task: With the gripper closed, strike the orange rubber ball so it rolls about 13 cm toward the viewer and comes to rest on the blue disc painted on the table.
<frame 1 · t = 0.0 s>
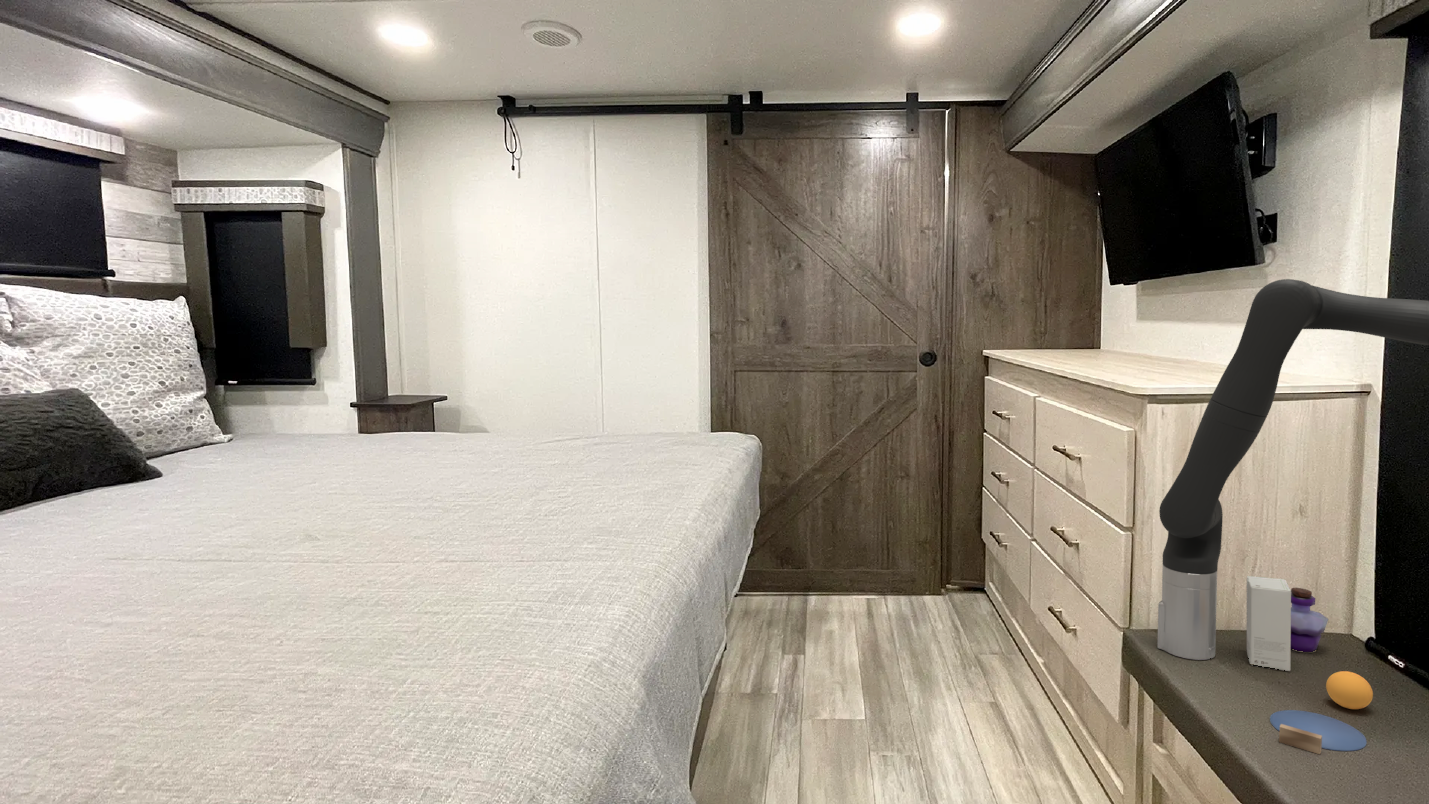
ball: (1349, 690, 125), on the cabinet
potion bottle: (1299, 648, 148), on the cabinet
skincare box: (1266, 661, 143), on the cabinet
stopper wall: (1299, 746, 114), on the cabinet
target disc: (1316, 730, 118), on the cabinet
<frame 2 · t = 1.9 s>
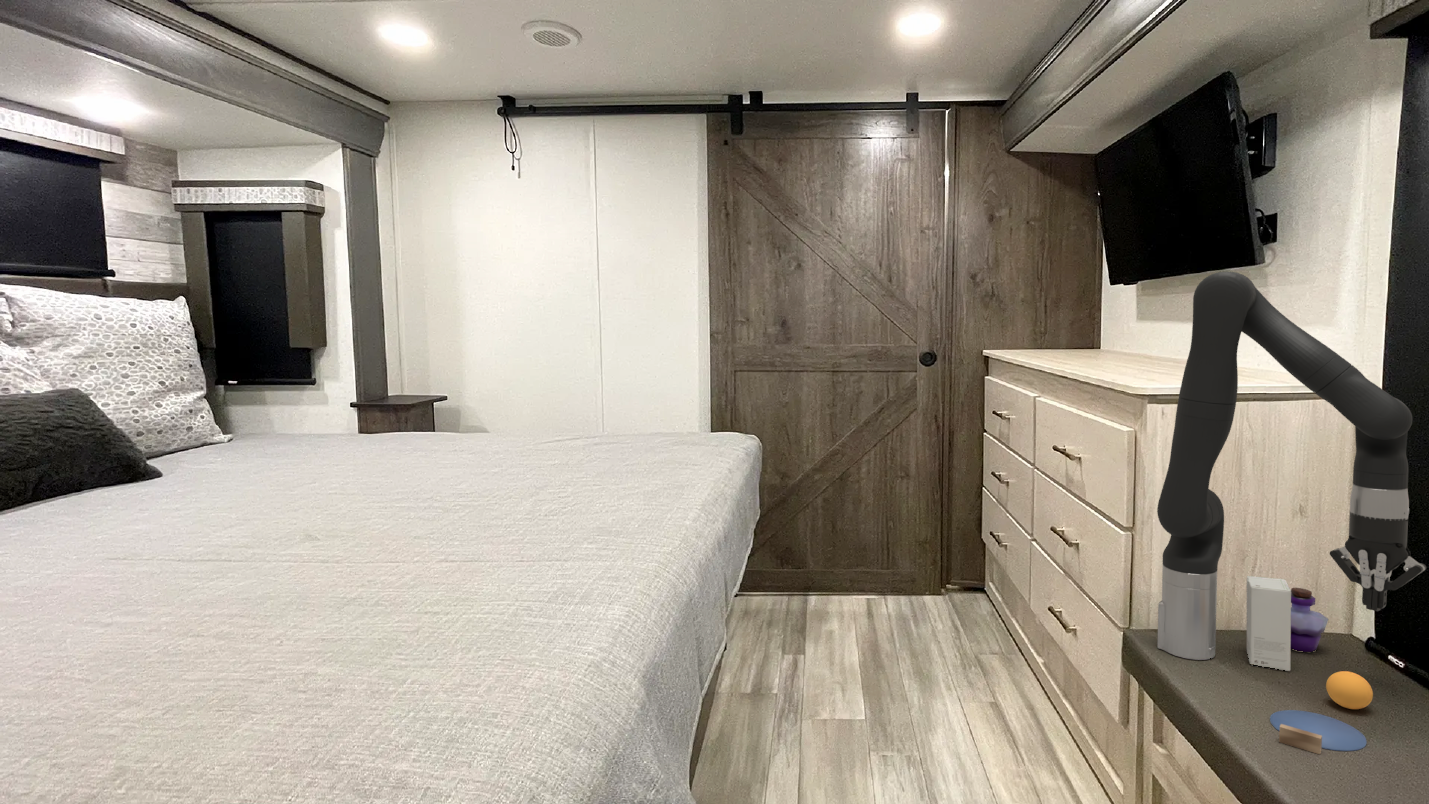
hand: (1374, 609, 128), 15 cm above the cabinet, tool pointing down, fingers closed
nothing on the cabinet moved.
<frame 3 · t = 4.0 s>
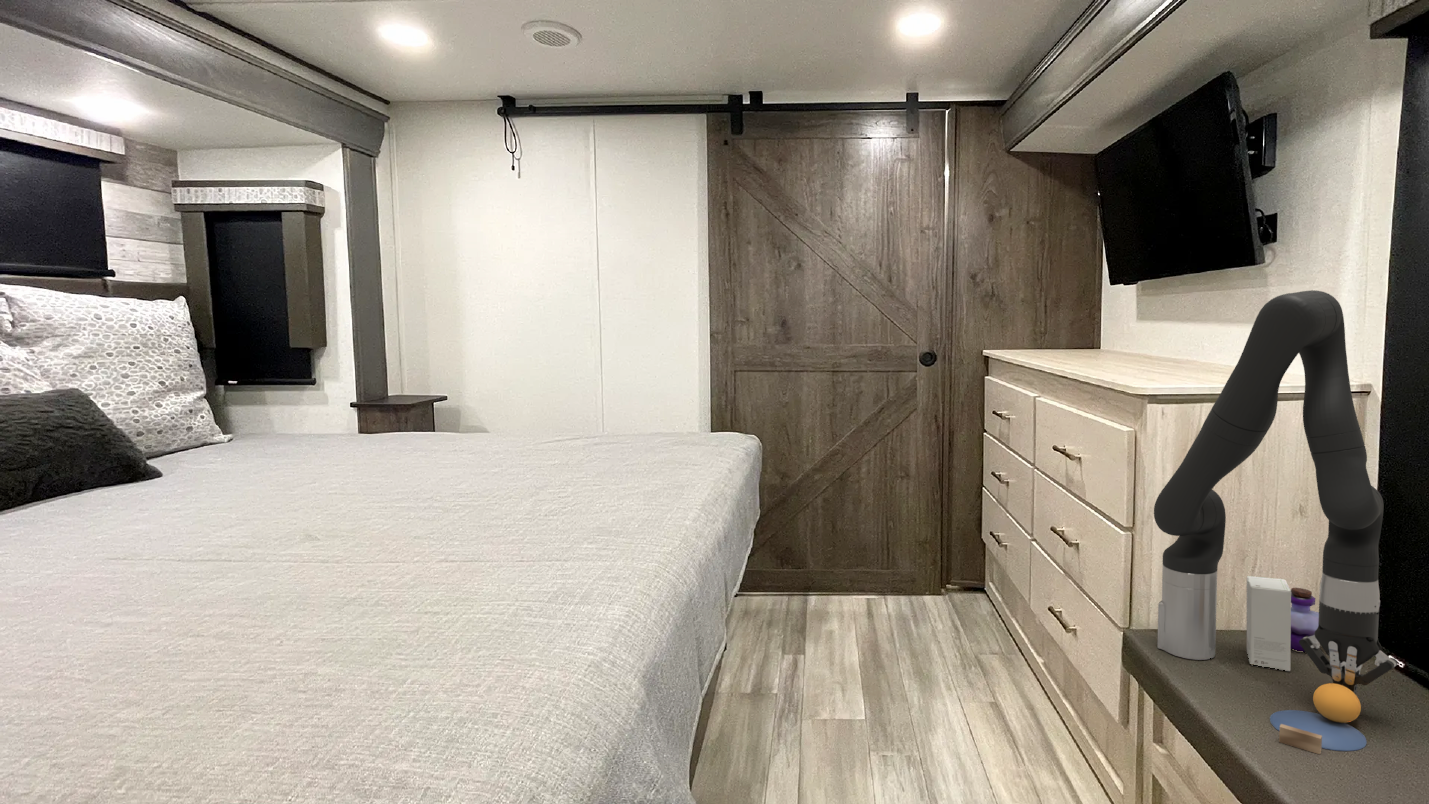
hand: (1344, 702, 123), 2 cm above the cabinet, tool pointing down, fingers closed
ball: (1336, 702, 121), on the cabinet
everything else where it was.
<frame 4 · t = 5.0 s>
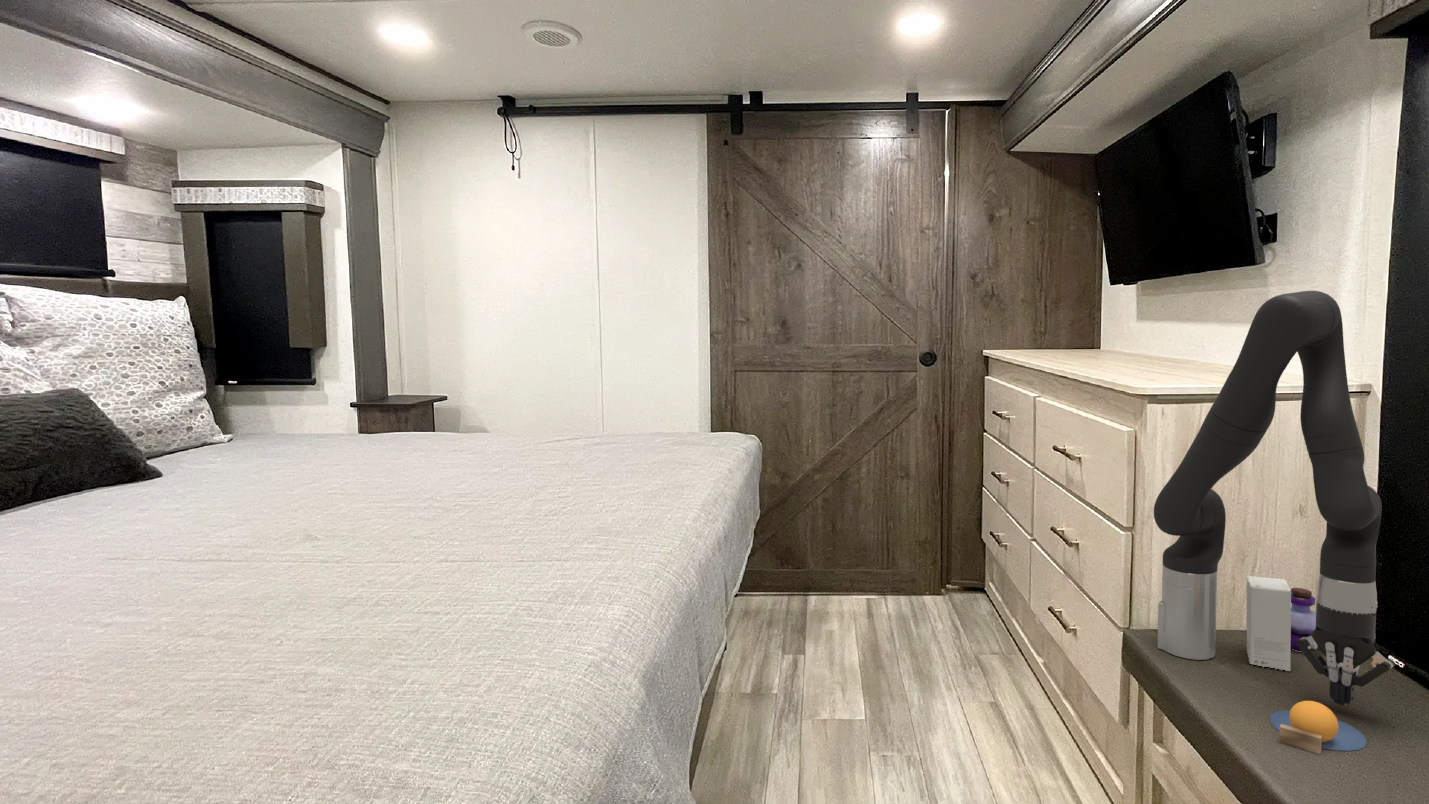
hand: (1341, 703, 123), 1 cm above the cabinet, tool pointing down, fingers closed
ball: (1313, 721, 115), on the cabinet
everything else where it was.
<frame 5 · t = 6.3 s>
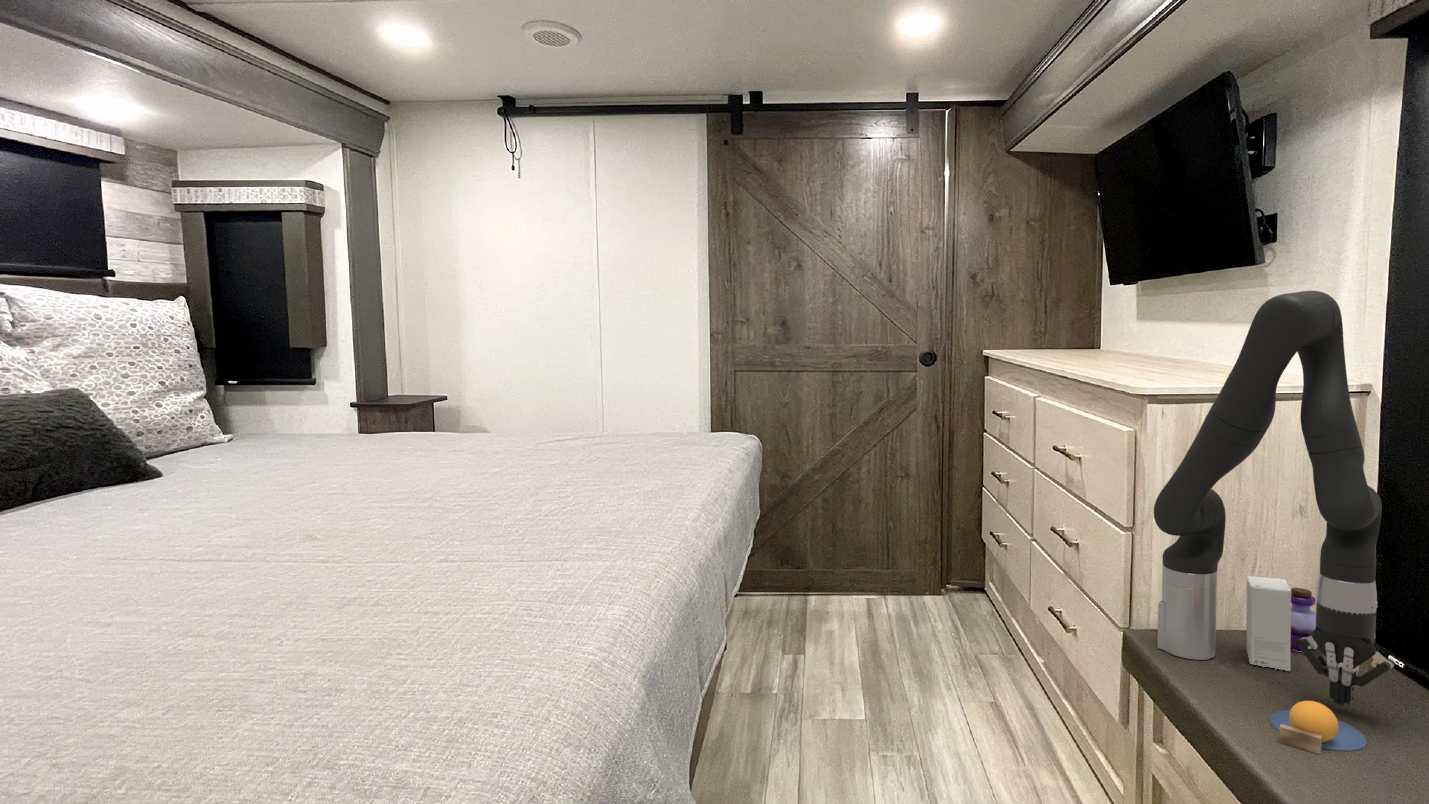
hand: (1341, 703, 123), 1 cm above the cabinet, tool pointing down, fingers closed
nothing on the cabinet moved.
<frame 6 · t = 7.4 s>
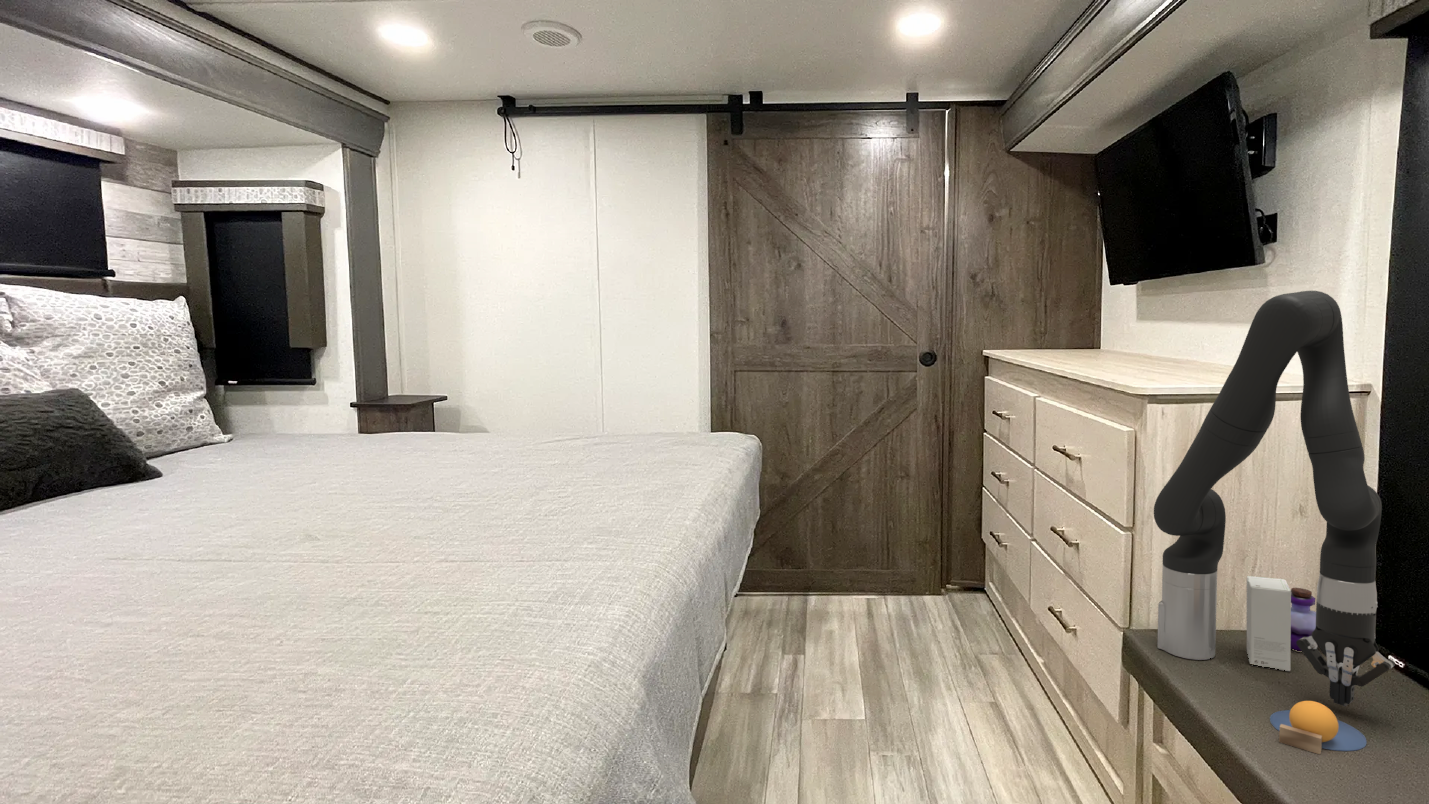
hand: (1341, 703, 123), 1 cm above the cabinet, tool pointing down, fingers closed
nothing on the cabinet moved.
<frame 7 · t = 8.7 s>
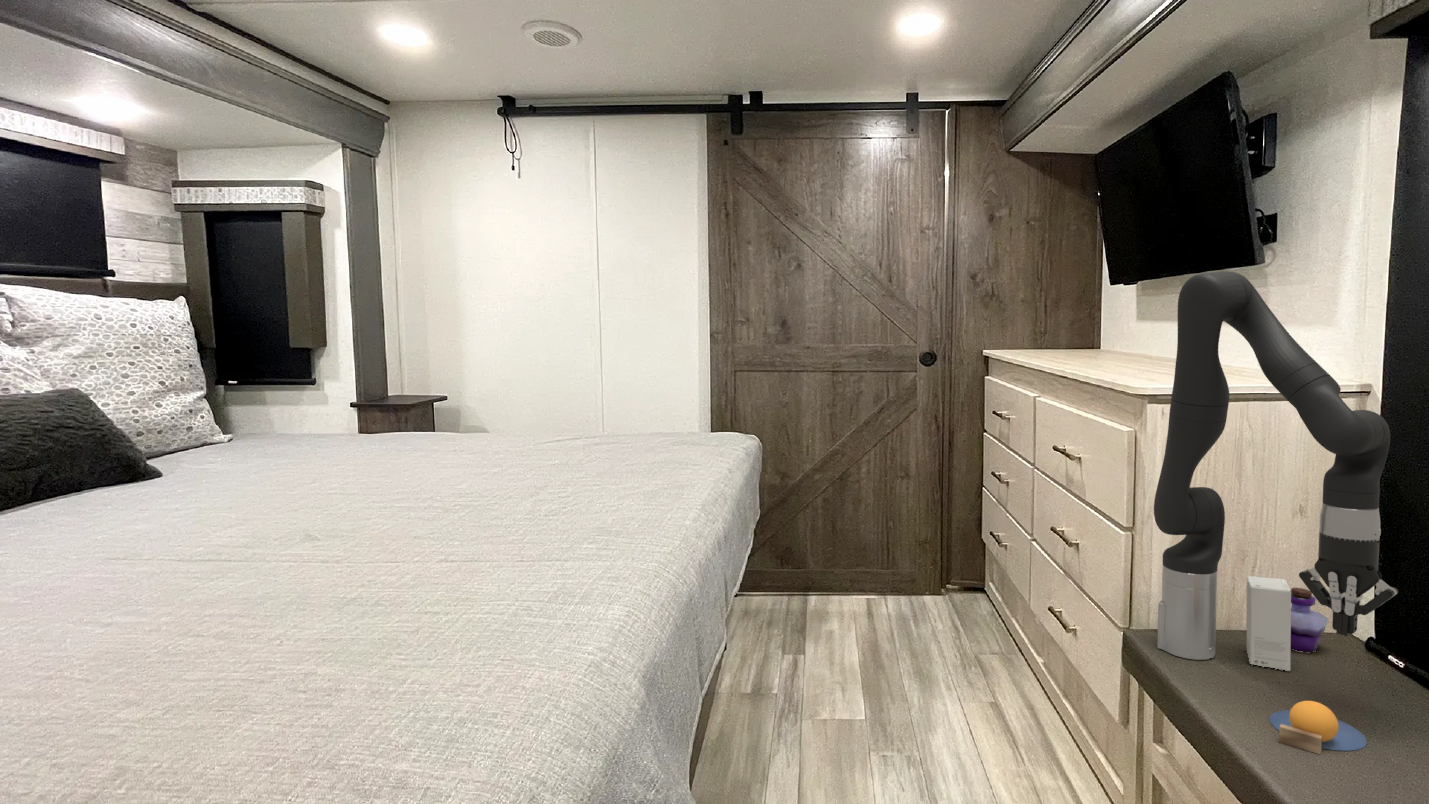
hand: (1344, 634, 122), 13 cm above the cabinet, tool pointing down, fingers closed
nothing on the cabinet moved.
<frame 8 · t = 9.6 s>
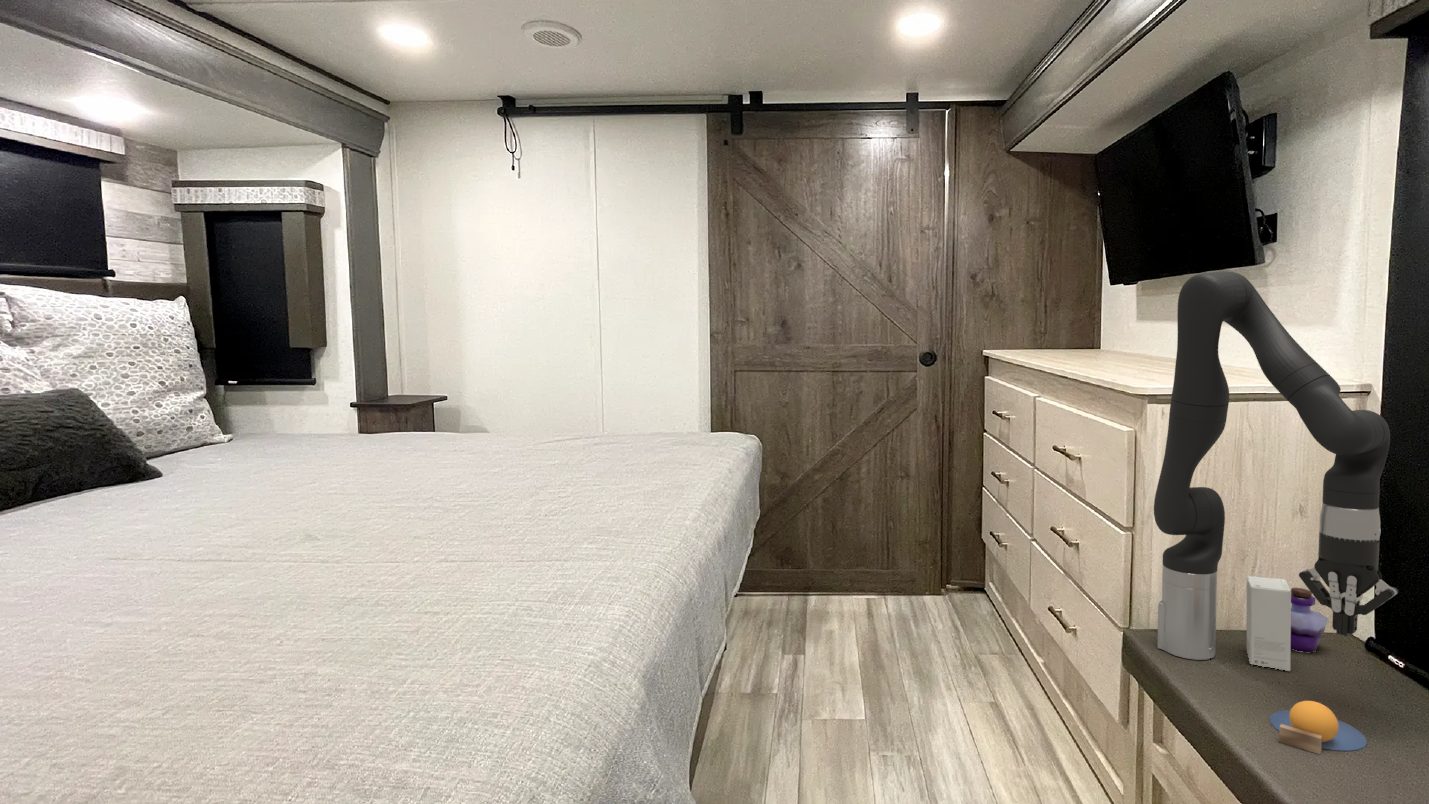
hand: (1344, 634, 122), 13 cm above the cabinet, tool pointing down, fingers closed
nothing on the cabinet moved.
at the end: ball 3.8 cm from the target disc (horizontally); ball at rest at the end (0.0 cm/s); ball moved 16.5 cm from its start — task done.
